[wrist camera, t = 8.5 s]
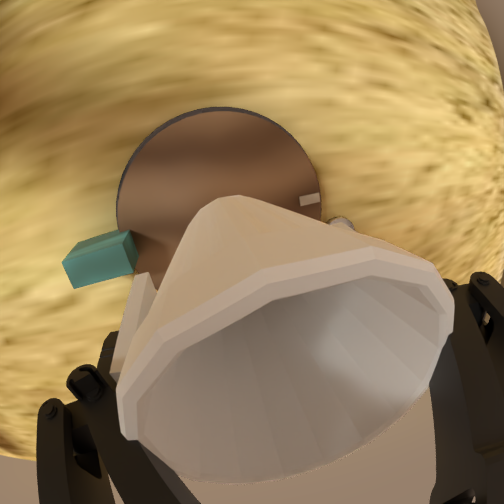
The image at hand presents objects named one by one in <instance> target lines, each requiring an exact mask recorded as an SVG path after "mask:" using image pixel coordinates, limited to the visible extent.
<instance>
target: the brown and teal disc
mask: <svg viewBox="0 0 504 504" xmlns="http://www.w3.org/2000/svg"><path fill="white" fill-rule="evenodd" d="M234 195H241V196H246V197H251V198H254V199H258V200H261V201H264V202H267V203H270V204H273V205H276V206H279V207H282V208H284V209H287V210H290V211H293V212H296V213H299V214H301V215H304V216H307V217H310V218H313V219H315V220H318V221H320V218H321V194H320V188H319V183H318V180H317V176H316V173H315V171H314V169H313V166H312V164H311V162H310V160H309V159H308V157H307V156H306V154H305V153H304V151H303V150H302V148H301V147H300V146H299V145H298V144H297V143H296V141H295V140H294V139H293V138H291V137H290V136H289V135H288V134H287V133H286V132H284V131H283V130H282V129H280V128H279V127H277V126H275V125H274V124H272V123H270V122H268V121H266V120H264V119H261V118H259V117H256V116H253V115H249V114H245V113H239V112H232V111H214V112H207V113H201V114H197V115H194V116H190V117H187V118H184V119H182V120H180V121H178V122H176V123H174V124H171V125H170V126H168V127H167V128H165V129H164V130H162V131H161V132H159V133H158V134H157V135H156V136H154V137H153V138H152V139H151V140H150V141H149V142H148V143H147V144H146V145H145V146H144V147H143V148H142V149H141V151H140V152H139V153H138V154H137V156H136V157H135V159H134V160H133V162H132V164H131V165H130V167H129V169H128V171H127V173H126V176H125V178H124V180H123V184H122V187H121V191H120V195H119V202H118V226H119V229H118V230H115V231H112V232H109V233H106V234H103V235H99V236H96V237H93V238H90V239H87V240H84V241H81V242H78V243H77V244H76V246H75V247H74V248H73V249H72V250H71V251H70V253H69V254H68V255H67V256H66V258H65V259H64V260H63V261H62V264H63V267H64V269H65V271H66V273H67V275H68V278H69V280H70V282H71V284H72V286H73V288H74V289H76V288H79V287H83V286H87V285H90V284H94V283H98V282H101V281H105V280H108V279H112V278H116V277H119V276H123V275H127V274H131V273H134V269H136V270H137V271H138V273H139V274H142V273H146V272H149V274H150V277H151V279H152V282H153V284H154V287H155V289H156V290H159V287H160V285H161V283H162V281H163V278H164V276H165V274H166V272H167V269H168V267H169V265H170V263H171V261H172V259H173V256H174V254H175V252H176V250H177V248H178V246H179V244H180V242H181V239H182V237H183V235H184V233H185V231H186V229H187V227H188V225H189V224H190V222H191V221H192V219H193V218H194V217H195V215H196V214H197V213H198V211H199V210H200V209H201V208H203V207H204V206H206V205H207V204H209V203H211V202H212V201H214V200H216V199H217V198H221V197H227V196H234Z"/></svg>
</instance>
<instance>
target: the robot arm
mask: <svg viewBox="0 0 504 504" xmlns="http://www.w3.org/2000/svg"><path fill="white" fill-rule="evenodd" d="M331 226H334V227H338V228H341V229H345V230H349V231H353V232H356V231H355V230H353V229H352V228H350V227H349V226H347V225H346V224H344V223H342V222H340V223H336V224H332V225H331ZM356 233H358V232H356ZM442 279H443V278H442ZM443 281H444V282H445V284H446V286H447V287H448V289H449V291H450V292H451V294H452V296H453V298H454V305H455V307H454V323H453V332H452V333H450V334H449V335H448V337H447V340H446V343H445V345H444V346H443V348H442V350H441V353H440V356H439V359H438V361H437V364H436V367H435V369H434V372H433V375H432V377H431V379H430V382H429V387H430V394H431V401H432V410H433V419H434V429H435V444H436V483H435V486H434V488H433V490H432V493H431V496H430V504H504V288H503V287H502V286H501V285H500V284H499V283H498V282H497V281H496V280H495V279H494V278H493V277H492V276H491V275H489V274H487V273H485V272H475V273H473V274H472V275H471V277H470V281H469V284H464V285H459V286H458V284H457V283H455V282H454V281H452V280H449V279H443ZM156 294H157V292H156V289H155V287H154V284H153V282H152V279H151V277H150V274H149V272H146V273H142V274H138V275H135V277H134V280H133V283H132V287H131V290H130V293H129V297H128V300H127V304H126V307H125V311H124V314H123V318H122V322H121V326H120V330H119V331H115V332H110V333H109V335H108V336H107V338H106V339H105V340H104V343H103V347H102V351H101V354H100V358H99V361H98V365H97V369H96V367H95V366H93V365H91V364H85V365H82V366H79V367H77V368H76V369H75V370H73V371H72V372H71V374H70V375H69V376H68V379H67V381H66V387H67V388H68V389H69V390H70V391H71V392H72V394H73V395H74V396H75V397H76V398H77V399H78V400H77V401H74V402H72V403H69V404H67V405H64V404H63V403H62V402H61V400H60V399H57V398H51V399H49V400H47V401H45V402H44V403H43V404H42V406H41V407H40V409H39V412H38V420H37V445H36V458H37V480H38V481H37V482H38V493H39V503H40V504H115V500H114V497H113V493H112V489H111V485H110V481H109V477H108V474H109V475H110V478H111V480H112V482H113V483H114V485H115V487H116V489H117V491H118V493H119V495H120V496H121V498H122V500H123V502H124V504H201V503H200V502H199V501H198V500H197V499H196V498H195V496H194V495H193V494H192V493H191V492H190V490H189V489H188V488H187V487H186V486H185V484H184V483H183V482H182V481H181V479H180V478H179V477H178V475H177V474H176V473H175V471H174V470H172V469H171V468H170V467H169V466H168V465H167V464H166V463H165V462H163V461H162V460H161V459H159V458H158V457H157V456H156V455H154V454H153V453H152V452H151V451H150V450H148V449H147V448H146V447H145V446H144V445H142V444H141V443H140V442H139V441H138V440H127V439H126V438H125V437H124V436H123V434H122V433H121V430H120V423H119V415H118V407H117V397H116V387H117V383H118V380H119V377H120V374H121V371H122V368H123V365H124V362H125V359H126V356H127V353H128V350H129V347H130V344H131V341H132V338H133V336H134V334H135V333H136V331H137V330H138V328H139V327H140V325H141V324H142V323H143V321H144V320H145V318H146V317H147V315H148V313H149V311H150V308H151V306H152V304H153V301H154V299H155V297H156ZM486 313H488V314H489V315H490V320H489V323H486V322H485V321H484V319H485V316H486ZM474 496H475V497H476V501H475V503H472V500H473V497H474Z"/></svg>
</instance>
